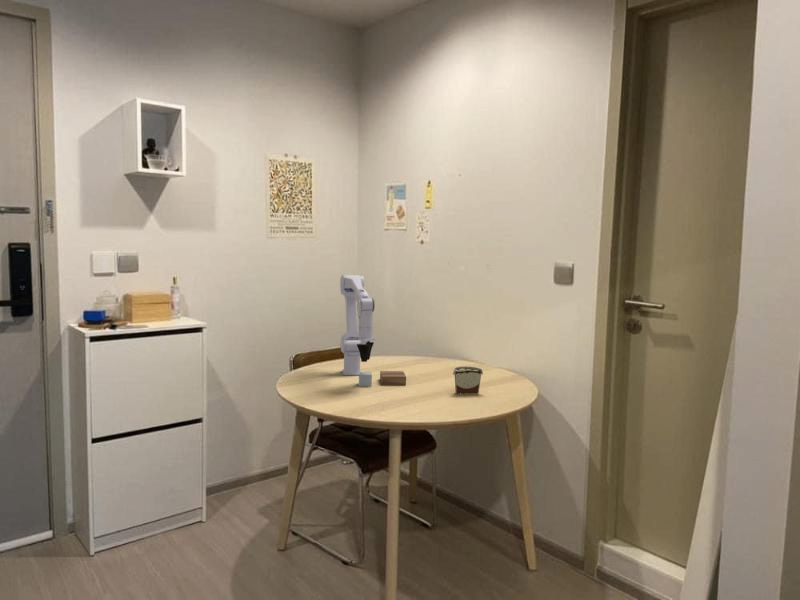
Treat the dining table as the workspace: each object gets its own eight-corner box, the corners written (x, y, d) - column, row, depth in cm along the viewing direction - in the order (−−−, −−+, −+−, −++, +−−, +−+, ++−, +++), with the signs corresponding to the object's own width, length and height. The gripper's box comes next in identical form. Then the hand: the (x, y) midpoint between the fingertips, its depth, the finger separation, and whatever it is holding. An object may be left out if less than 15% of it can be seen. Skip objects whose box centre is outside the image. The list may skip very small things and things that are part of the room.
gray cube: (358, 383, 250) (359, 371, 249) (370, 383, 250) (371, 371, 250) (359, 386, 245) (359, 374, 244) (371, 386, 245) (371, 374, 245)
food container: (476, 389, 246) (477, 365, 245) (481, 393, 241) (483, 369, 239) (447, 390, 243) (449, 366, 242) (452, 394, 238) (454, 369, 236)
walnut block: (379, 380, 258) (380, 370, 258) (402, 380, 259) (403, 371, 259) (382, 385, 248) (382, 376, 248) (405, 386, 249) (406, 376, 249)
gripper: (373, 328, 237) (373, 362, 237) (377, 326, 251) (377, 358, 251) (355, 328, 237) (355, 362, 237) (360, 326, 252) (360, 358, 252)
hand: (365, 360), depth 244 cm, fingers open, 7 cm apart
